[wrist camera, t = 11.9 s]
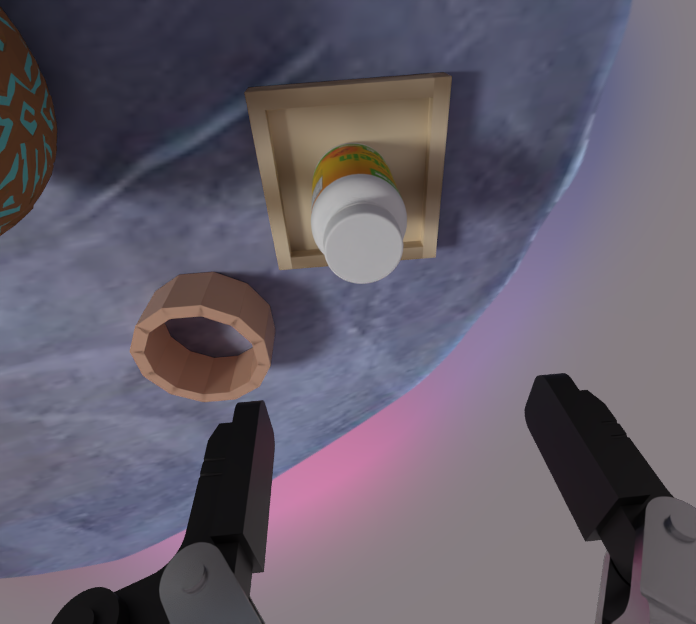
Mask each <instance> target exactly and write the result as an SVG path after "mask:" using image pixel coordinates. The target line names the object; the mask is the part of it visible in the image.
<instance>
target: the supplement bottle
mask: <svg viewBox="0 0 696 624" xmlns="http://www.w3.org/2000/svg"><path fill="white" fill-rule="evenodd" d="M406 228H407V213H406V208H405V205H404V202H403V199H402V197H401V195H400V193H399V191H398V188H397V186H396V183H395V181H394V179H393V177H392V174H391V172H390V169H389V167H388V165H387V163H386V161H385V160H384V158H383V157H382V156H381V155H380V154H379V153H378V152H377V151H376V150H375V149H373V148H371V147H370V146H367V145H365V144H361V143H344V144H340V145H338V146H335V147H333V148H332V149H330V150H329V151H328V152H326V153H325V154H324V155H323V156H322V158H321V159H320V161H319V162H318V164H317V166H316V168H315V171H314V175H313V182H312V205H311V229H312V234H313V238H314V240H315V243H316V244H317V246H318V248H319V249H320V251H321V252H322V253H323V254H324V255H325V259H326V261H327V264H328V266H329V267H330V269H331V270H332V271H333V272H334V273H335V274H336V275H337V276H339V277H340V278H342V279H344V280H346V281H349V282H352V283H360V284H364V283H371V282H375V281H378V280H380V279H382V278H384V277H386V276H387V275H389V274H390V273H391V272H392V271H393V270H394V269H395V268H396V266H397V265H398V263H399V262H400V260H401V257H402V253H403V238H404V236H405V232H406Z"/></svg>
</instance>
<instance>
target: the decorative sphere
mask: <svg viewBox="0 0 696 624" xmlns="http://www.w3.org/2000/svg"><path fill="white" fill-rule="evenodd" d="M56 143H57V122H56V117H55V112H54V106H53V102H52V97H51V96H50V94H49V90H48V87H47V84H46V81H45V79H44V77H43V75H42V73H41V72H40V69H39V66H38V64H37V62H36V60H35V58H34V56H33V55H32V53H31V51H30V50H29V48H28V46H27V45H26V43H25V41H24V40H23V38H22V36H21V35H20V33H19V31H18V30H17V28H16V27H15V26H14V24H13V23H12V22H11V21H10V19H9V18H8V17H7V15H6V14H5V12H4V11H3V10H2V8H1V7H0V236H1V235H2V234H4V233H5V232H6V231H8V230H9V229H11V228H12V227H13V226H15V225H16V224H17V223H18V222H19V221H20V220H22V219H23V218H24V217H25V216H26V215H27V214H28V213H29V212H30V211H31V210H32V209H33V205H34V204H35V202H36V201H37V200H38V198H39V197H40V196H41V194H42V192H43V190H44V188H45V187H46V185H47V183H48V181H49V179H50V177H51V175H52V171H53V163H54V162H55V158H56V151H57V146H56Z"/></svg>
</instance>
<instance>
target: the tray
mask: <svg viewBox="0 0 696 624" xmlns="http://www.w3.org/2000/svg"><path fill="white" fill-rule="evenodd" d="M451 81H452V76H450V75H448V74H446V73H444V72H441V73H428V74H415V75H402V76H389V77H376V78H363V79H350V80H337V81H324V82H312V83H299V84H286V85H273V86H260V87H249V88H248V89H247V90H246V91H245V92H244V93H245V98H246V103H247V109H248V114H249V119H250V124H251V129H252V134H253V139H254V144H255V149H256V154H257V159H258V164H259V169H260V174H261V180H262V185H263V190H264V195H265V200H266V205H267V210H268V215H269V220H270V225H271V230H272V235H273V240H274V245H275V251H276V256H277V261H278V266H279V270H287V269H299V268H311V267H323V266H328V264H327V261H326V259H325V255H324V254H323V253H322V252H321V251H320V249H319V248H318V246H317V244H316V243H315V240H314V238H313V234H312V229H311V205H312V182H313V175H314V171H315V168H316V166H317V164H318V162H319V161H320V159H321V158H322V156H323V155H324V154H325V153H326V152H328V151H329V150H330V149H332V148H333V147H335V146H338V145H340V144H344V143H361V144H365V145H367V146H370V147H371V148H373V149H375V150H376V151H377V152H378V153H379V154H380V155H381V156H382V157H383V158H384V160H385V161H386V163H387V165H388V167H389V169H390V172H391V174H392V177H393V179H394V181H395V183H396V186H397V188H398V191H399V193H400V195H401V197H402V199H403V202H404V205H405V208H406V213H407V228H406V232H405V236H404V238H403V253H402V257H401V260H409V259H421V258H433V257H436V246H437V235H438V224H439V213H440V202H441V191H442V180H443V169H444V158H445V147H446V136H447V125H448V114H449V103H450V92H451Z"/></svg>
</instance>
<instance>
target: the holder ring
mask: <svg viewBox="0 0 696 624" xmlns="http://www.w3.org/2000/svg"><path fill="white" fill-rule="evenodd" d="M198 316H202V317H205V318H208V319H211V320H214V321H218V322H221V323H224V324H227V325H230V326H232V327H233V328H235V329H236V330H237V331H238V332H239V333H240V334H241V335H243V336H244V337H245V338H246V339H247V340H248V341H249V342H251V343H252V345H253V347H252V348H251V349H249V350H247V351H245V352H244V353H242V354H240V355H239V356H230V357H218V358H213V357H209V356H206V355H202V354H199V353H195V352H192V351H189V350H188V349H187V348H185V347H184V346H183V345H181V344H180V343H179V342H177V341H176V340H175V339H174V338H172V337H171V336H170V334H169V331H168V329H167V327H166V325H165V323H164V322H166V321H167V320H169V319H174V318H186V317H198ZM274 337H275V326H274V322H273V317H272V313H271V309H270V305H269V304H268V303H267V302H266V301H265V300H264V299H263V298H262V297H261V296H260V295H259V294H258V293H257V292H256V291H254V290H253V289H252V288H251V287H250V286H249V285H248V284H247V283H244V282H241V281H238V280H236V279H233V278H230V277H227V276H224V275H221V274H219V273H216V272H206V273H194V274H181V275H178V276H177V277H175V278H174V279H172V280H171V281H169V282H168V283H167V284H165V285H164V286H162V287H161V288H159V289H158V290H157V291H155V293H154V295H153V296H152V298H151V300H150V302H149V303H148V305H147V307H146V308H145V310H144V312H143V314H142V315H141V317H140V319H139V321H138V322H137V324H136V326H135V330H134V334H133V339H132V343H131V348H130V353H131V355H132V357H133V358H134V360H135V362H136V364H137V365H138V367H139V369H140V371H141V373H142V374H143V376H144V377H146V378H147V379H149V380H150V381H152V382H153V383H155V384H156V385H158V386H159V387H161V388H162V389H164V390H165V391H167V392H168V393H170V394H173V395H177V396H181V397H185V398H189V399H193V400H197V401H201V402H210V401H222V400H234V399H237V398H239V397H241V396H243V395H244V394H246V393H248V392H250V391H252V390H254V389H256V388H258V387H259V386H260V385H261V383H262V381H263V379H264V377H265V375H266V373H267V371H268V369H269V368H270V366H271V359H272V352H273V344H274Z"/></svg>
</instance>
